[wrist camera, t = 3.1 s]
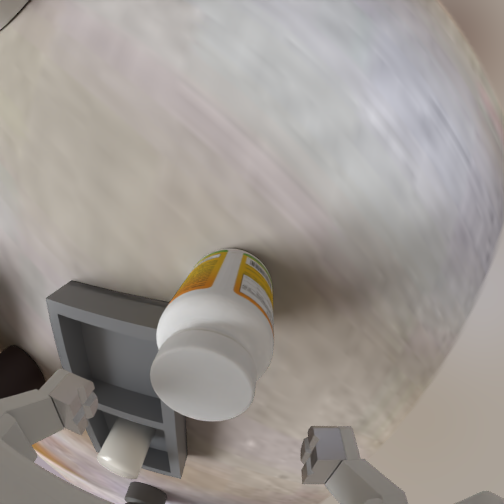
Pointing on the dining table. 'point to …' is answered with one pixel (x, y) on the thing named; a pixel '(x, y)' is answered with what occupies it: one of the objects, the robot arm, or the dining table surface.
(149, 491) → the candle holder
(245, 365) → the supplement bottle
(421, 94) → the dining table surface
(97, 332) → the caddy
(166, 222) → the dining table surface
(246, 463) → the dining table surface
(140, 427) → the shaker
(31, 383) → the vinegar
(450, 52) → the dining table surface
